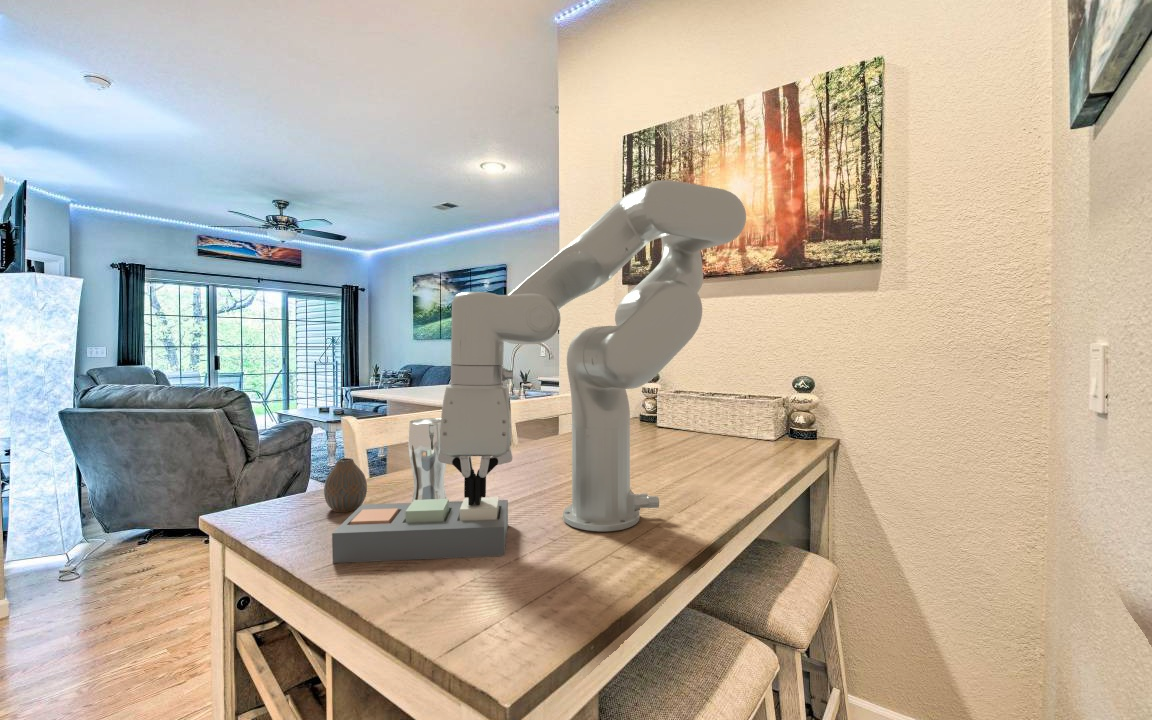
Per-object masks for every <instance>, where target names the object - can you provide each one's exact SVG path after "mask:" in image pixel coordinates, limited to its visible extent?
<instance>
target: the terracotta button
mask: <svg viewBox="0 0 1152 720" xmlns="http://www.w3.org/2000/svg"><path fill="white" fill-rule="evenodd" d="M397 515H398V508H393V509H364V510H362V511H361V512H360V513H359V514H358V515H357V516H356V517H355V518H354V519H353V520H352V521H351V522H350V525H359V524H387V523H392V521H393V520H394V519H395V517H396V516H397Z"/></svg>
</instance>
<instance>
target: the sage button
mask: <svg viewBox="0 0 1152 720" xmlns="http://www.w3.org/2000/svg"><path fill="white" fill-rule="evenodd" d="M449 502H450V498H447V499H427V500H413V502H412V501H411V502H410V503H411V504H410V506H409V507H408V509H407V510H406V511H405V513H406V523H414V522H442V521H446V520H447V518H448V515H449Z"/></svg>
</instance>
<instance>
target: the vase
mask: <svg viewBox="0 0 1152 720" xmlns="http://www.w3.org/2000/svg"><path fill="white" fill-rule="evenodd" d="M367 483H368V482H367V478H366V476H365V473H364V472H363V471H362V470H361V469H360V467H359V466H357V464H356V463H355V461H354V459H353V458H351V457H345V458H344V457H343V458H339V459H337V461H336V464H335V465H334V467H333V469H332V470H331V471H330V472H329V474H328V475H327V477H326V479H325V482H324V486H323V495H324V499H325V502H326V504H327V507H329V509H331V510H332V511H334V512H336V513H347V512H353V511H356V510H357V509H358V508H359V507H360V506H361V505H363V502H364V501H365V499H366V496H367V493H368V484H367Z"/></svg>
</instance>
